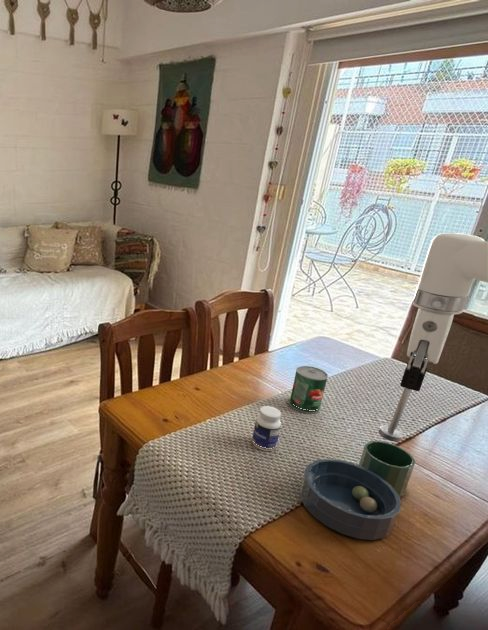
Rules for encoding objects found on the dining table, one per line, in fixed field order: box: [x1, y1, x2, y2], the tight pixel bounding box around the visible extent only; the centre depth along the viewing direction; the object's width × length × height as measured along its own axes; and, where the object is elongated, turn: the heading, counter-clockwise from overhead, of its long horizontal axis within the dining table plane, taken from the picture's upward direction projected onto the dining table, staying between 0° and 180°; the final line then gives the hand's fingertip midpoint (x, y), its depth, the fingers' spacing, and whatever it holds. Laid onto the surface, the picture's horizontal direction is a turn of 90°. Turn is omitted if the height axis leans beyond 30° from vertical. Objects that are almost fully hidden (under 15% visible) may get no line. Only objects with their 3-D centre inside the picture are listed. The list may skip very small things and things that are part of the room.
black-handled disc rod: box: [378, 360, 424, 443], centre depth 90 cm, size 4×4×18 cm
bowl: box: [299, 458, 402, 541], centre depth 90 cm, size 17×17×6 cm
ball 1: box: [352, 486, 369, 501], centre depth 92 cm, size 3×3×3 cm
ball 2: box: [360, 497, 377, 513], centre depth 89 cm, size 3×3×3 cm
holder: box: [358, 440, 416, 498], centre depth 96 cm, size 9×9×8 cm
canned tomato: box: [288, 365, 329, 415], centre depth 125 cm, size 8×8×11 cm
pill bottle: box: [251, 405, 282, 452], centre depth 108 cm, size 6×6×10 cm
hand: (410, 385), depth 89 cm, fingers closed on black-handled disc rod, 2 cm apart
